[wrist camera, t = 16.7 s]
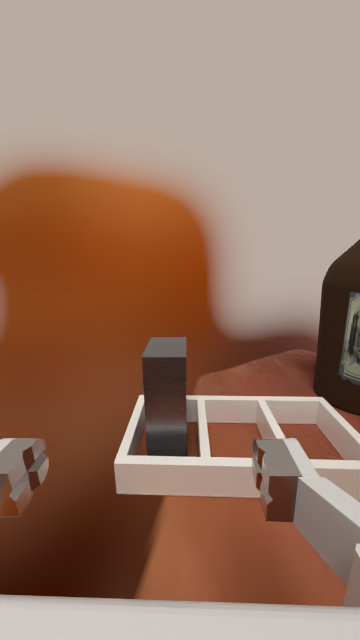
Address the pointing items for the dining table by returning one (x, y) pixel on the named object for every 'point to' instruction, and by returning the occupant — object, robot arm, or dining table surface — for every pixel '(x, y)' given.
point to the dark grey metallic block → (165, 396)
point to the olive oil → (340, 334)
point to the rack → (234, 473)
